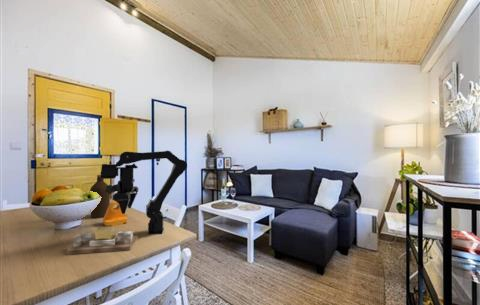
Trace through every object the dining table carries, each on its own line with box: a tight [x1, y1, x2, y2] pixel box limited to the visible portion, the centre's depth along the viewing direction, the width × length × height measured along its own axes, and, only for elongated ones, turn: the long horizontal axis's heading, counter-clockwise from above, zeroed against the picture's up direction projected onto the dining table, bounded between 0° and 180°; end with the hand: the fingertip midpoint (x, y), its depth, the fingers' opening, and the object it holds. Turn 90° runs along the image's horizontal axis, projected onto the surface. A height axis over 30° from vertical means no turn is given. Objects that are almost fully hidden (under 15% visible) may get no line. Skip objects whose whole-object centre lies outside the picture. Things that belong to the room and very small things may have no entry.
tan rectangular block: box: [94, 225, 116, 241], centre depth 93 cm, size 6×4×6 cm, turn 101°
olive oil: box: [89, 174, 111, 219], centre depth 133 cm, size 11×11×25 cm
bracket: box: [102, 200, 129, 227], centre depth 121 cm, size 11×7×12 cm, turn 132°
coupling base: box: [66, 230, 139, 255], centre depth 93 cm, size 23×12×6 cm, turn 101°
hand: (126, 210), depth 104 cm, fingers open, 9 cm apart
